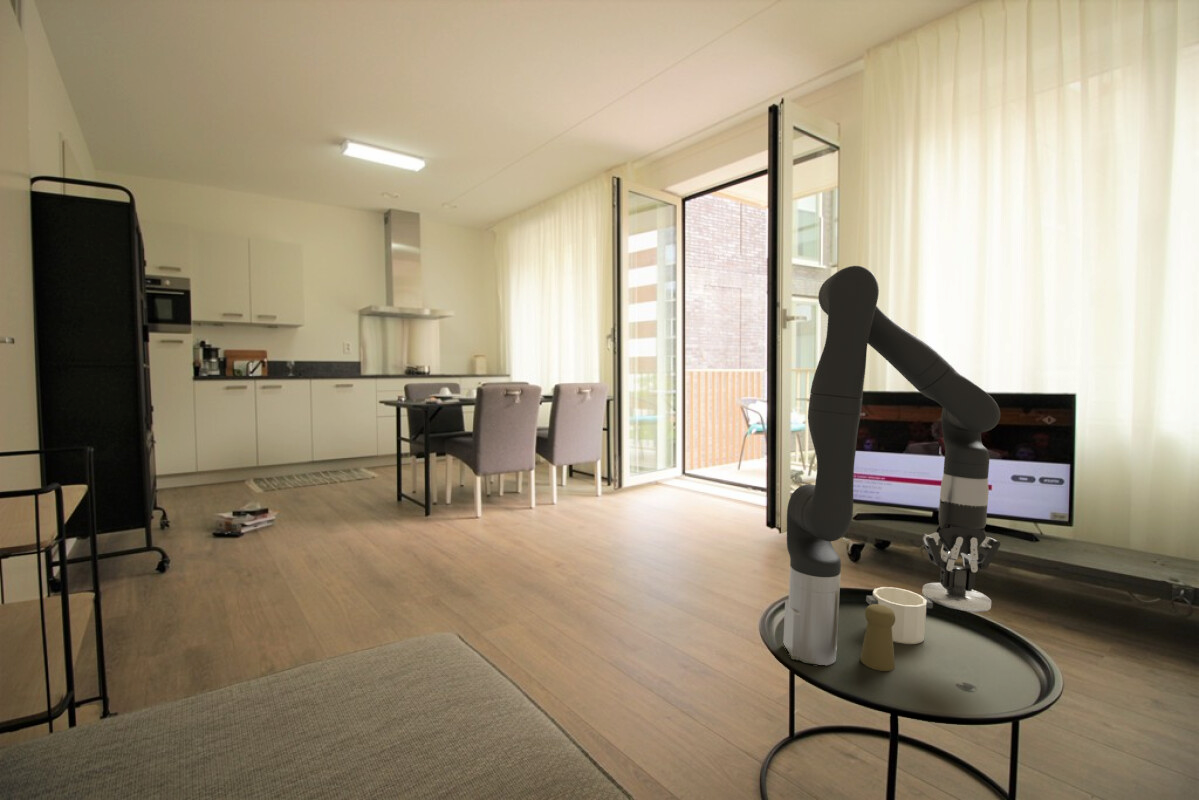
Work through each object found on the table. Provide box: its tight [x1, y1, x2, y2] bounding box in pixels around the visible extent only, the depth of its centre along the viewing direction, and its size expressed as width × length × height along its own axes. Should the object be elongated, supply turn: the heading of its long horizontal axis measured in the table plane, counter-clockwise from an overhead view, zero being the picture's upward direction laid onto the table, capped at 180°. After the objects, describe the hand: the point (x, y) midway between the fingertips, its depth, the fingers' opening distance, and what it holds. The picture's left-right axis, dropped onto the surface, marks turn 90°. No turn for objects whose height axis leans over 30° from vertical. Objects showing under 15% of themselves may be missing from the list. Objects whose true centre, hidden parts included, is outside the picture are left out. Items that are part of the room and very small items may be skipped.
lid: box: [922, 564, 992, 613], centre depth 105 cm, size 11×11×6 cm
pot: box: [865, 586, 934, 645], centre depth 119 cm, size 13×10×8 cm
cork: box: [859, 604, 896, 672], centre depth 107 cm, size 6×6×11 cm
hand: (956, 588), depth 105 cm, fingers closed on lid, 3 cm apart
